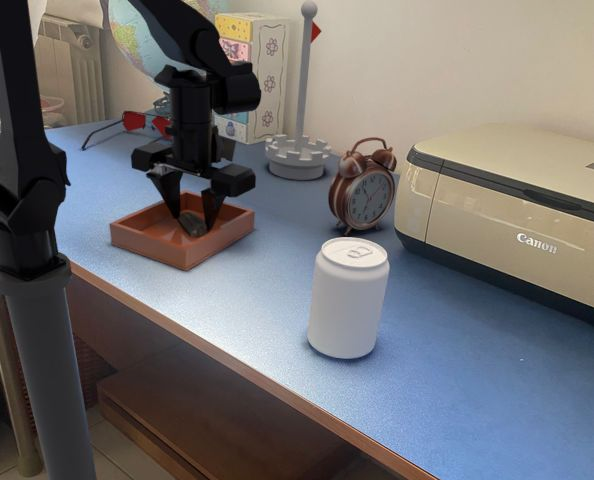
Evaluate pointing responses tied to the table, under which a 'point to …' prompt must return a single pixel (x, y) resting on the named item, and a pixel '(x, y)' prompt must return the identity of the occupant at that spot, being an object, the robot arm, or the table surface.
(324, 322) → the beverage can
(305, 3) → the flag stand
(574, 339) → the table surface
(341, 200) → the alarm clock
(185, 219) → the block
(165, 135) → the glasses
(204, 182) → the table surface
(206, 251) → the desk tray
